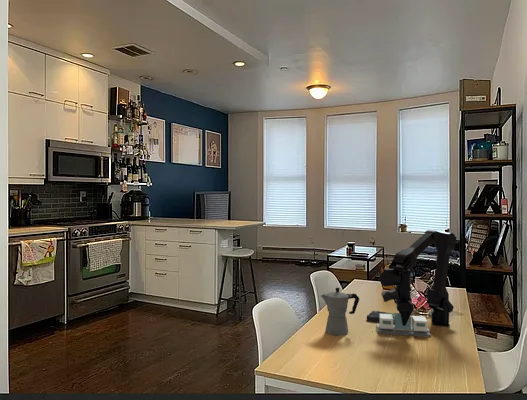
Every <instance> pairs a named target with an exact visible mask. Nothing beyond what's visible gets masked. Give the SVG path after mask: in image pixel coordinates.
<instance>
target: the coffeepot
mask: <svg viewBox="0 0 527 400" xmlns="http://www.w3.org/2000/svg"><path fill="white" fill-rule="evenodd" d="M340 289H341V288H340V287H335V291H334V292H333V291H332V292H328V293H325V294H322V295H320V297H321V298H322V300H323V301H324V303H325V304H326V307H327V308H326V309H327V312H328V316H327V321H326V326H325V333H327V334H328V335H332V336H345V335H347V334H349V327H348V320H347V316H346V314H347V311H348V306H349V305H348V303H349V300H350V299H351V300H352V299H354V301H353V306H352V310H351V311H348V313H349V314H350V315H354V314H355V312H356V310H357V307H358V305H359V302H360V297H359V296H358V295H357V294H356V293H345V292H341V291H340Z"/></svg>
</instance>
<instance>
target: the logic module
mask: <svg viewBox="0 0 527 400" xmlns="http://www.w3.org/2000/svg"><path fill="white" fill-rule="evenodd" d="M394 314H395V323H394V325H395V328H398V329H411V326H412V315H411V316H410V318H409V319H408V322H407V324H406V326H403V325H402V320H401V314H400V313H399V312H394Z"/></svg>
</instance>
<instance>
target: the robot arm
mask: <svg viewBox="0 0 527 400" xmlns="http://www.w3.org/2000/svg"><path fill="white" fill-rule="evenodd" d="M433 243H434V246H435V247H434V248H435V249H436V253H437V254H436V261H435V269H434V277H433V284H432V286H431V287H430V288H427V289H426V290H427V291H426V292H427V293H426V296H425V298H426V302H427V304H428V308H429V309H432V311H430V321H431V323H432V326H435V327H437V326H439V327H450V326H451V325H450V313H452V312H453V311H454V309H455V308H454V305H453V304H452V303H451V302H450V298H449V297H450V296H449V292H448V289H447V279H448V272H449V264H450V257H451V253H452V252H453V251H454V249H455V248H456V244H457V236H456V234H454V233H453V232H448V231H447V232H446V231H437V230H434V229H433V230H432V229H428V230H425V232H424V234H422V235H421V236H420V237H419V238H418V239H416V241H414V242H413V243H412V244H411V245H410V246H409V247H407V248H405V249H401V250H400V251H397V252H396V253H394V256H393V259H392V261H391V262H390V264H389V265H388V268H383V272H381V273H380V275H379V282H380V284H381V285H382V286H383V287H392V286H394V288H392V289H389V290H385V291H382V292H380V293H381V297H382V300H383V302H384V303H388V302H389V301H392V300H393V302H394V303H395V306H396V311H397V312H398V313H400V314H401V320H402V325H403V326H406V324H407V322H408V319H409V318H410V316H411V317H412V314H413V312H414V311H415V310H414V309H415V306H414V303H413V302H412V295H411V293H412V274H415V273H416V270H415V269H413V268H412V267H414V265H415V264H416V263H417V260H418V257H419V256H420V255H421V254H422V253H423V252H424V251H425V250H427V248H429V247H430V246H431V245H432V244H433Z"/></svg>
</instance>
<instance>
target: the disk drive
mask: <svg viewBox="0 0 527 400" xmlns="http://www.w3.org/2000/svg"><path fill="white" fill-rule="evenodd" d="M379 314H392V316H393V325H394V323H395V313H393V312H386V311H378V310H372V311H371V312H370V313H369V314H367V315H366V321H367V322H373V323H378V324H379Z"/></svg>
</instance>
